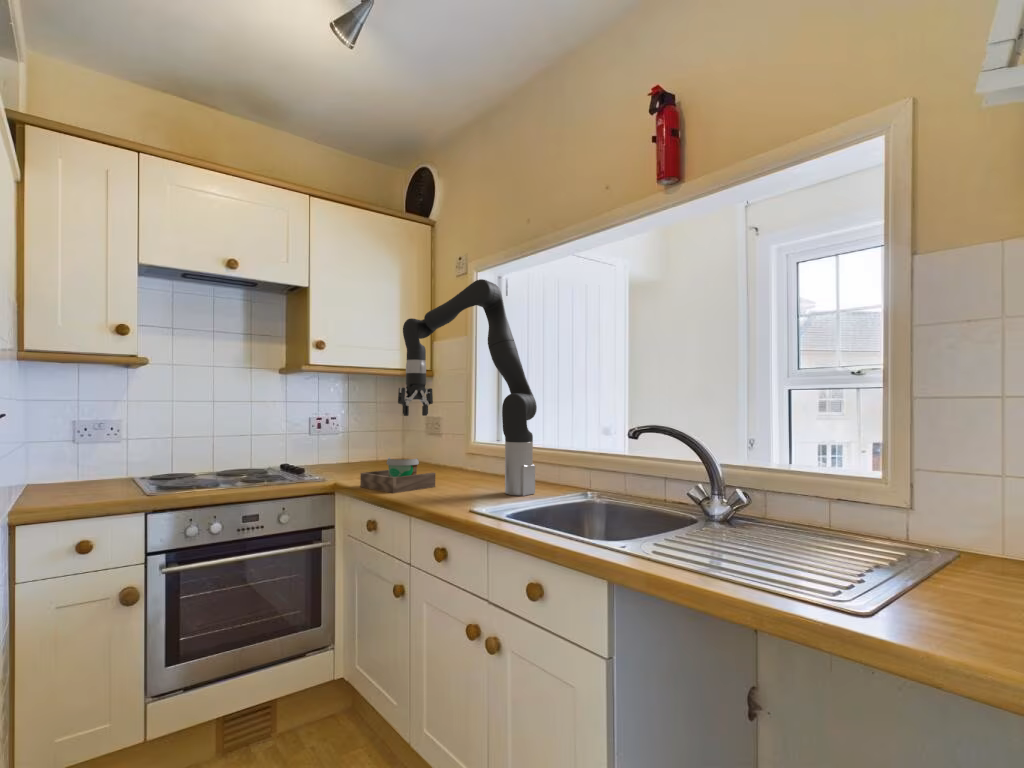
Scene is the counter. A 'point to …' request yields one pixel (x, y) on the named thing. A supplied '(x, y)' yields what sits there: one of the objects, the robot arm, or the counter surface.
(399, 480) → the walnut box
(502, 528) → the counter surface
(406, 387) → the robot arm
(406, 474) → the food container
